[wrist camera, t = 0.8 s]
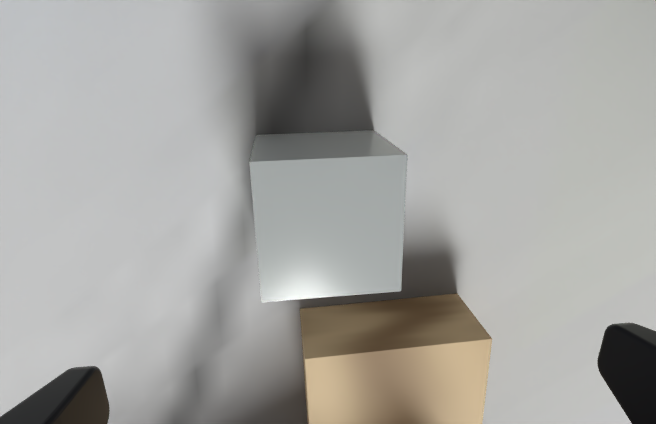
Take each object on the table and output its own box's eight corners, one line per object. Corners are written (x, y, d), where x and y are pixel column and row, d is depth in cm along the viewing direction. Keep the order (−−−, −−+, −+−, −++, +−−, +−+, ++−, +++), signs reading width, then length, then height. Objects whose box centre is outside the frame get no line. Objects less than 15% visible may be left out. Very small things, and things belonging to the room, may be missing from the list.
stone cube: (373, 129, 18) (407, 154, 14) (371, 236, 20) (401, 291, 15) (256, 134, 18) (249, 161, 13) (264, 243, 19) (261, 302, 15)
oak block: (454, 290, 22) (492, 338, 18) (445, 411, 25) (476, 474, 21) (299, 305, 21) (304, 359, 17) (308, 428, 24) (314, 497, 20)
